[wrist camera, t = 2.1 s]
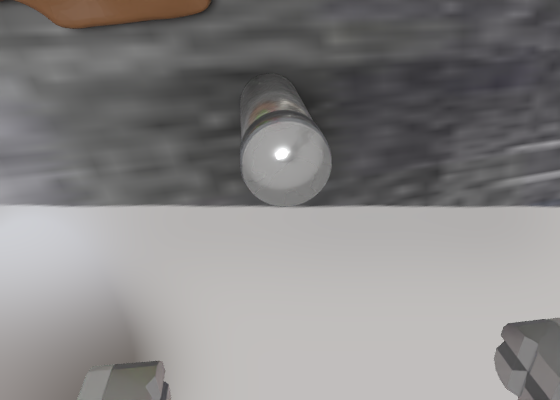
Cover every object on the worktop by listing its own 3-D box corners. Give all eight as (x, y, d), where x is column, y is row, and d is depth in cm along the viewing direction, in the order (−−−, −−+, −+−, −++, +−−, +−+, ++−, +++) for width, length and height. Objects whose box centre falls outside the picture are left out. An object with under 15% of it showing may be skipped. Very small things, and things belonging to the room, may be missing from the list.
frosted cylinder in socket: (299, 69, 29) (334, 118, 19) (300, 130, 31) (332, 204, 21) (236, 73, 29) (236, 125, 18) (241, 134, 31) (244, 211, 21)
